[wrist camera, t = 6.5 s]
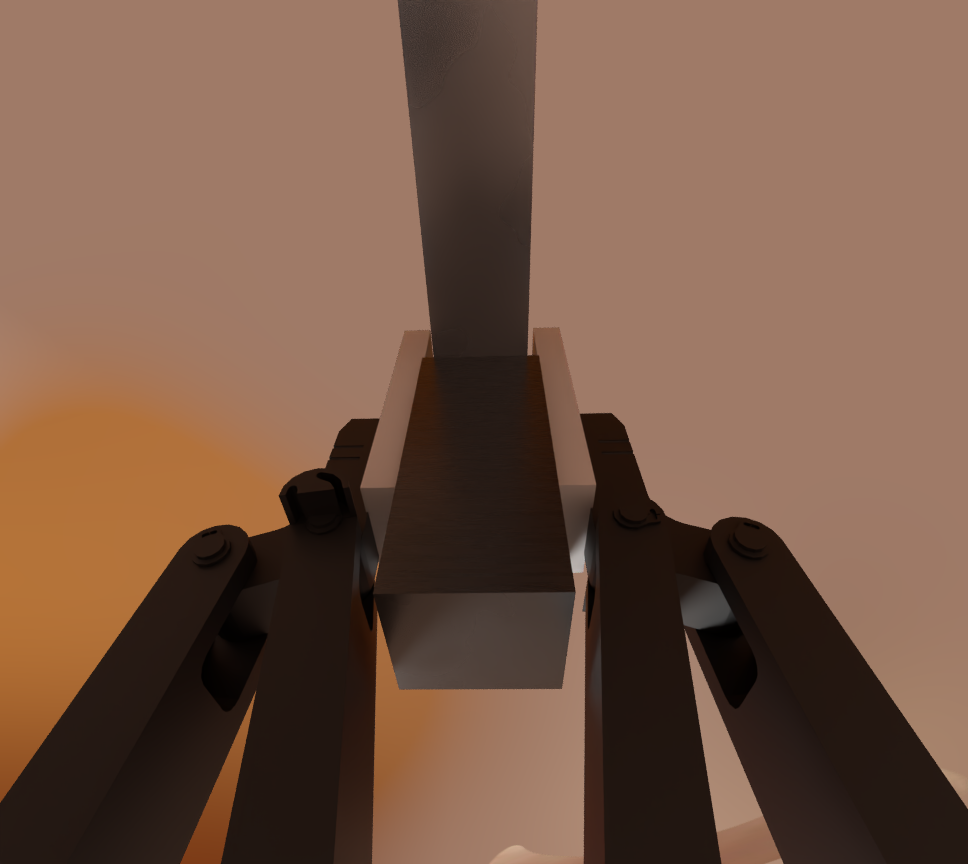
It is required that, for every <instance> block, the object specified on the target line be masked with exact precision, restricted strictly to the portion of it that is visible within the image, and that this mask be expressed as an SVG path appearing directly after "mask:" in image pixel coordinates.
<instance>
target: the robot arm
mask: <svg viewBox="0 0 968 864" xmlns="http://www.w3.org/2000/svg"><path fill="white" fill-rule="evenodd" d="M532 355H539V358H540V365H541V371H542V378H543V384H544V391H545V397H546V404H547V410H548V417H549V423H550V430H551V436H552V443H553V449H554V456H555V462H556V469H557V475H558V481H559V488H560V494H561V501H562V507H563V514H564V520H565V527H566V533H567V540H568V546H569V553H570V559H571V566H572V572H573V573H579V572H580V573H581V572H583V569H584V562H586V568H587V573H588V581H587V586H586V592H585V599H584V605H583V611H584V612H586V618H585V619H586V620H585V621H586V622H585V626H586V627H585V765H584V775H585V776H584V864H721V858H720V852H719V846H718V839H717V833H716V827H715V820H714V814H713V808H712V801H711V795H710V789H709V782H708V776H707V770H706V763H705V757H704V751H703V745H702V738H701V732H700V725H699V719H698V713H697V706H696V700H695V694H694V687H693V681H692V675H691V669H690V662H689V656H688V649H687V643H686V637H685V631H686V633H687V635H688V638H689V640H690V643H691V645H692V648H693V650H694V652H695V655H696V657H697V660H698V662H699V664H700V667H701V669H702V671H703V674H704V676H705V678H706V681H707V683H708V685H709V688H710V690H711V693H712V695H713V697H714V700H715V702H716V705H717V707H718V709H719V712H720V714H721V716H722V719H723V721H724V723H725V726H726V728H727V731H728V733H729V735H730V738H731V740H732V742H733V745H734V747H735V749H736V752H737V754H738V757H739V759H740V761H741V764H742V766H743V768H744V771H745V773H746V776H747V778H748V780H749V783H750V785H751V787H752V790H753V792H754V795H755V797H756V799H757V802H758V804H759V806H760V809H761V811H762V814H763V816H764V818H765V821H766V823H767V825H768V828H769V830H770V833H771V835H772V837H773V840H774V842H775V844H776V847H777V849H778V852H779V854H780V856H781V859H782V860H783V863H784V864H968V809H967V807H966V806H965V804H964V803H963V801H962V800H961V798H960V797H959V796H958V794H957V793H956V791H955V790H954V788H953V787H952V785H951V784H950V782H949V781H948V780H947V778H946V777H945V775H944V774H943V772H942V771H941V769H940V768H939V767H938V765H937V764H936V762H935V761H934V759H933V758H932V756H931V755H930V753H929V752H928V751H927V749H926V748H925V746H924V745H923V743H922V742H921V740H920V739H919V738H918V736H917V735H916V733H915V732H914V730H913V729H912V727H911V726H910V725H909V723H908V722H907V720H906V719H905V717H904V716H903V714H902V713H901V712H900V710H899V709H898V707H897V706H896V704H895V703H894V701H893V700H892V698H891V697H890V696H889V694H888V693H887V691H886V690H885V688H884V687H883V685H882V684H881V682H880V681H879V680H878V678H877V677H876V675H875V674H874V672H873V671H872V669H871V668H870V667H869V665H868V664H867V662H866V661H865V659H864V658H863V656H862V655H861V653H860V652H859V651H858V649H857V648H856V646H855V645H854V643H853V642H852V640H851V639H850V637H849V636H848V635H847V633H846V632H845V630H844V629H843V627H842V626H841V625H840V623H839V622H838V620H837V619H836V617H835V616H834V614H833V613H832V611H831V610H830V609H829V607H828V606H827V604H826V603H825V601H824V600H823V598H822V597H821V595H820V594H819V593H818V591H817V590H816V588H815V587H814V585H813V584H812V582H811V581H810V579H809V578H808V577H807V575H806V574H805V572H804V571H803V569H802V568H801V567H800V565H799V564H798V562H797V561H796V559H795V558H794V556H793V555H792V553H791V552H790V550H789V549H788V548H787V546H786V545H785V543H784V542H783V540H782V539H781V538H780V537H779V536H778V535H777V534H776V533H775V532H774V531H773V530H772V529H770V528H768V527H766V526H765V525H763V524H762V523H760V522H757V521H753V520H751V519H748V518H741V517H729V518H725V519H721V520H719V521H718V522H717V523H716V524H715V525H714V526H713V527H712V530H709V529H704V528H701V527H696V526H692V525H688V524H684V523H681V522H678V521H675V520H673V519H671V518H669V517H667V516H666V515H665V514H664V511H663V510H662V509H661V508H660V507H659V506H658V505H657V504H656V503H655V502H654V501H652V500H650V498H649V496H648V494H647V491H646V488H645V485H644V482H643V479H642V476H641V473H640V470H639V467H638V465H637V462H636V459H635V456H634V454H633V450H632V447H631V444H630V442H629V438H628V435H627V432H626V429H625V426H624V425H623V424H622V423H621V422H620V421H619V420H618V419H617V418H616V417H615V416H614V415H613V414H612V413H596V414H595V413H594V414H580V413H579V409H578V405H577V401H576V397H575V392H574V389H573V384H572V380H571V375H570V371H569V367H568V363H567V358H566V354H565V350H564V346H563V341H562V337H561V333H560V329H559V327H558V328H533V350H532ZM428 357H433V351H432V341H431V332H430V330H417V331H405V332H404V335H403V339H402V342H401V346H400V349H399V353H398V356H397V360H396V363H395V367H394V370H393V374H392V378H391V381H390V384H389V388H388V391H387V395H386V399H385V402H384V406H383V409H382V413H381V416H380V419H351V420H350V422H348V423H347V424H346V425H345V426H344V427H343V428H342V429H341V430H340V431H339V433H338V436H337V439H336V441H335V444H334V449H332V452H331V455H330V460H328V462H327V465H326V468H324V469H323V468H321V469H320V468H318V469H314V470H310V471H305V472H303V473H301V474H299V475H297V476H295V477H293V478H292V479H291V480H290V481H289V482H288V483H287V484H285V485H284V486H283V488H282V490H281V492H280V494H279V498H280V500H281V503H282V505H283V508H284V510H285V513H286V515H287V518H288V521H289V523H290V525H288V526H286V527H284V528H281V529H278V530H275V531H271V532H267V533H264V534H260V535H256V536H252V537H248V535H247V533H246V532H245V531H243V530H242V529H241V528H240V527H237V526H233V525H221V526H214V527H211V528H208V529H206V530H203V531H201V532H199V533H198V534H196V535H195V536H193V537H191V538H190V539H189V540H188V541H187V542H186V543H185V544H184V545H183V546H182V547H181V548H180V549H179V551H178V552H177V553H176V555H175V556H174V558H173V559H172V560H171V562H170V564H169V565H168V566H167V568H166V569H165V570H164V572H163V573H162V575H161V576H160V577H159V579H158V581H157V582H156V583H155V585H154V586H153V587H152V589H151V590H150V592H149V593H148V594H147V596H146V598H145V599H144V600H143V602H142V603H141V604H140V606H139V607H138V609H137V610H136V611H135V613H134V614H133V616H132V617H131V619H130V620H129V621H128V623H127V624H126V626H125V627H124V629H123V630H122V631H121V633H120V634H119V636H118V637H117V638H116V640H115V641H114V643H113V644H112V646H111V647H110V648H109V650H108V651H107V653H106V654H105V655H104V657H103V658H102V660H101V661H100V662H99V664H98V665H97V667H96V668H95V670H94V671H93V672H92V674H91V675H90V677H89V678H88V679H87V681H86V682H85V684H84V685H83V687H82V688H81V689H80V691H79V692H78V694H77V695H76V697H75V698H74V699H73V701H72V702H71V704H70V705H69V706H68V708H67V709H66V711H65V712H64V714H63V715H62V716H61V718H60V719H59V721H58V722H57V724H56V725H55V726H54V728H53V729H52V731H51V732H50V733H49V735H48V736H47V738H46V739H45V740H44V742H43V743H42V745H41V746H40V747H39V749H38V750H37V752H36V753H35V755H34V756H33V758H32V759H31V760H30V762H29V763H28V764H27V766H26V767H25V769H24V770H23V772H22V773H21V775H20V776H19V777H18V779H17V780H16V781H15V783H14V784H13V786H12V787H11V789H10V790H9V791H8V793H7V794H6V796H5V797H4V799H3V800H2V801H1V803H0V864H180V862H181V860H182V858H183V856H184V853H185V851H186V849H187V846H188V844H189V842H190V840H191V837H192V835H193V833H194V831H195V828H196V826H197V824H198V822H199V819H200V817H201V815H202V812H203V810H204V808H205V806H206V803H207V801H208V799H209V796H210V794H211V792H212V790H213V787H214V785H215V782H216V780H217V778H218V776H219V774H220V771H221V769H222V766H223V765H224V762H225V760H226V758H227V755H228V753H229V751H230V748H231V746H232V744H233V742H234V739H235V737H236V735H237V732H238V730H239V728H240V725H241V724H242V721H243V719H244V716H245V714H246V712H247V710H248V707H249V705H250V703H251V701H252V698H253V696H254V694H255V692H256V695H255V700H254V705H253V709H252V714H251V719H250V724H249V729H248V735H247V739H246V744H245V749H244V753H243V758H242V763H241V768H240V774H239V778H238V783H237V788H236V793H235V798H234V802H233V807H232V812H231V818H230V822H229V827H228V832H227V837H226V842H225V847H224V852H223V856H222V861H221V864H372V831H373V829H372V828H373V786H374V741H375V695H376V694H375V693H376V650H377V607H376V603H375V599H374V596H373V592H374V587H375V580H374V579H375V574H376V570H377V565H378V562H379V563H380V558H381V553H382V548H383V544H384V539H385V534H386V529H387V524H388V520H389V515H390V510H391V505H392V500H393V496H394V491H395V486H396V481H397V476H398V472H399V467H400V462H401V457H402V452H403V447H404V443H405V438H406V433H407V428H408V423H409V419H410V414H411V409H412V404H413V399H414V395H415V390H416V385H417V380H418V375H419V371H420V366H421V361H422V358H428ZM684 629H685V630H684ZM256 689H257V690H256Z"/></svg>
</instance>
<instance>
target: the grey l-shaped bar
mask: <svg viewBox="0 0 968 864" xmlns="http://www.w3.org/2000/svg"><path fill="white" fill-rule="evenodd" d="M398 7H399V17H400V27H401V37H402V46H403V56H404V66H405V77H406V86H407V97H408V107H409V116H410V126H411V136H412V146H413V156H414V165H415V175H416V185H417V195H418V206H419V215H420V225H421V235H422V245H423V255H424V264H425V275H426V285H427V294H428V304H429V315H430V324H431V334H432V344H433V354H434V357H428V358H422V361H421V366H420V371H419V375H418V380H417V385H416V390H415V395H414V399H413V404H412V409H411V414H410V419H409V423H408V428H407V433H406V438H405V443H404V447H403V452H402V457H401V462H400V467H399V472H398V476H397V481H396V486H395V491H394V496H393V500H392V505H391V510H390V515H389V520H388V524H387V529H386V534H385V539H384V544H383V548H382V553H381V558H380V563H379V568H378V573H377V577H376V582H375V587H374V592H373V596H374V599H375V603H376V607H377V610H378V613H379V617H380V621H381V625H382V628H383V632H384V636H385V639H386V643H387V646H388V650H389V654H390V657H391V661H392V664H393V668H394V672H395V675H396V679H397V683H398V686H399V689H562V684H563V677H564V670H565V663H566V656H567V649H568V642H569V635H570V627H571V621H572V614H573V606H574V600H575V586H574V579H573V572H572V566H571V559H570V553H569V546H568V540H567V533H566V527H565V520H564V514H563V507H562V501H561V494H560V488H559V481H558V475H557V469H556V462H555V456H554V449H553V443H552V436H551V430H550V423H549V417H548V410H547V404H546V397H545V391H544V384H543V378H542V371H541V365H540V358H539V355H529V356H527V349H528V314H529V279H530V242H531V209H532V174H533V140H534V105H535V104H534V103H535V70H536V35H537V32H536V31H537V0H398Z"/></svg>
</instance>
